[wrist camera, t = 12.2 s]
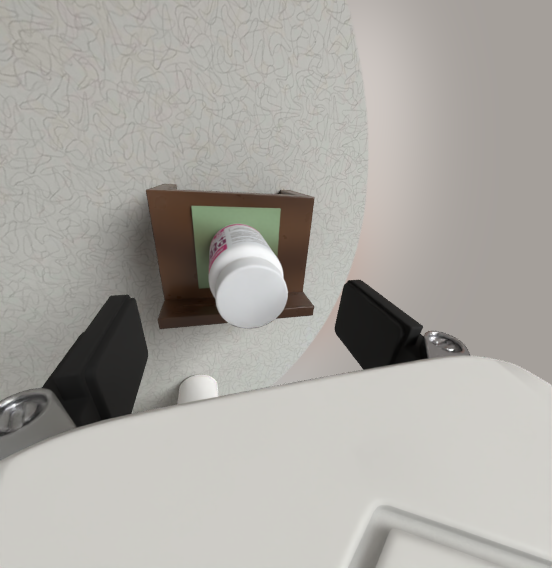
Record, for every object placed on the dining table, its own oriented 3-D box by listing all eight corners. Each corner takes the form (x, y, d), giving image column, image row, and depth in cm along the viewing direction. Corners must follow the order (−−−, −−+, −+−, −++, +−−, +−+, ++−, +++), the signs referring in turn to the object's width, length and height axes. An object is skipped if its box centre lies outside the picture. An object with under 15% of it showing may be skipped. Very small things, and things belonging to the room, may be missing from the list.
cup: (207, 412, 38) (206, 485, 29) (155, 393, 34) (135, 472, 25) (244, 378, 37) (254, 443, 28) (194, 353, 32) (188, 421, 23)
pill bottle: (210, 219, 18) (209, 253, 11) (268, 225, 20) (303, 260, 12) (208, 275, 20) (206, 336, 13) (261, 277, 21) (287, 333, 14)
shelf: (163, 183, 23) (133, 193, 14) (290, 190, 26) (330, 201, 17) (176, 277, 27) (159, 329, 18) (283, 273, 30) (312, 315, 21)
